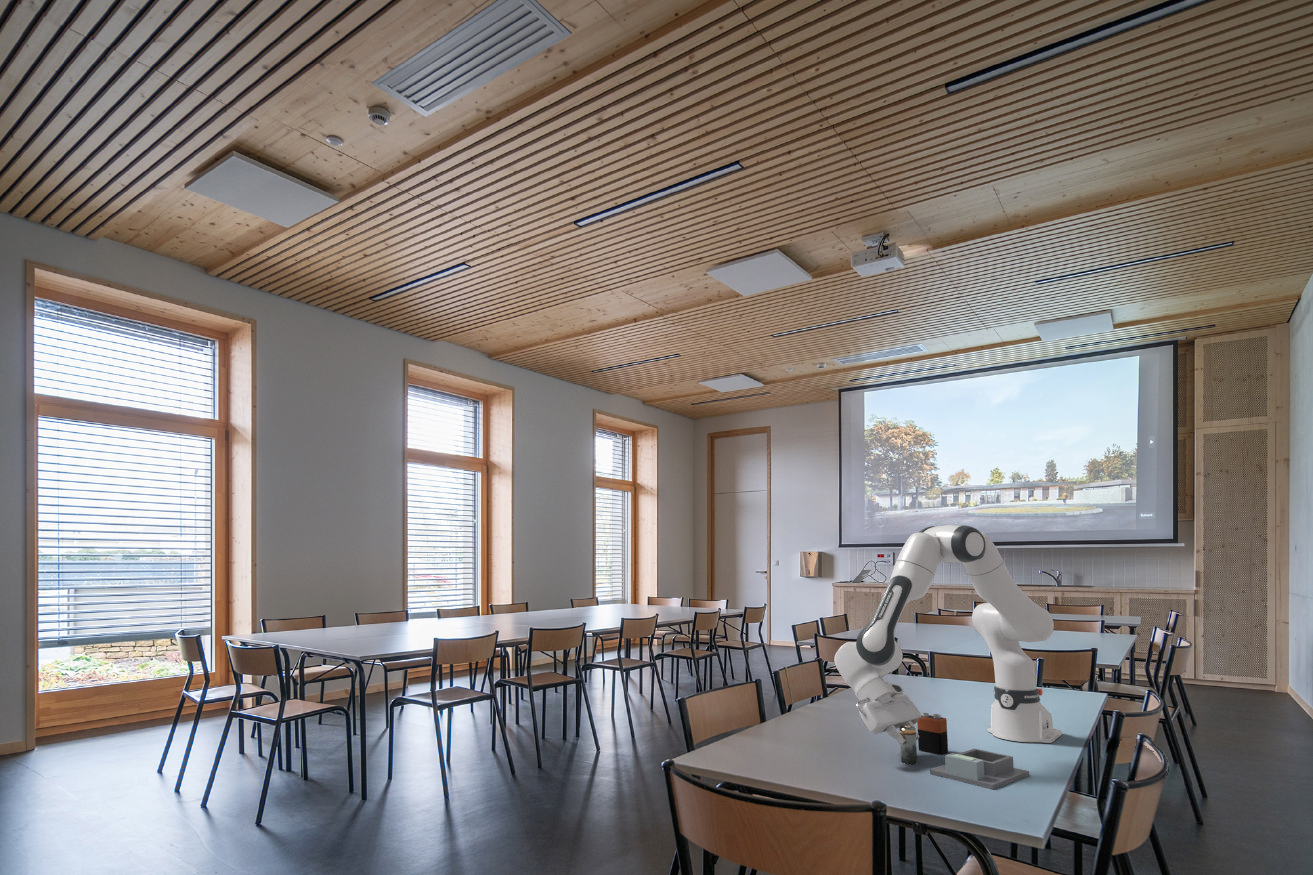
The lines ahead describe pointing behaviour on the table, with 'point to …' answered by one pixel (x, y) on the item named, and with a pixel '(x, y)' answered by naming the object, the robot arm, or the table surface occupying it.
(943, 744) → the battery
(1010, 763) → the tester
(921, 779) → the table surface
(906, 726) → the cell
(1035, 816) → the table surface
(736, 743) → the table surface
